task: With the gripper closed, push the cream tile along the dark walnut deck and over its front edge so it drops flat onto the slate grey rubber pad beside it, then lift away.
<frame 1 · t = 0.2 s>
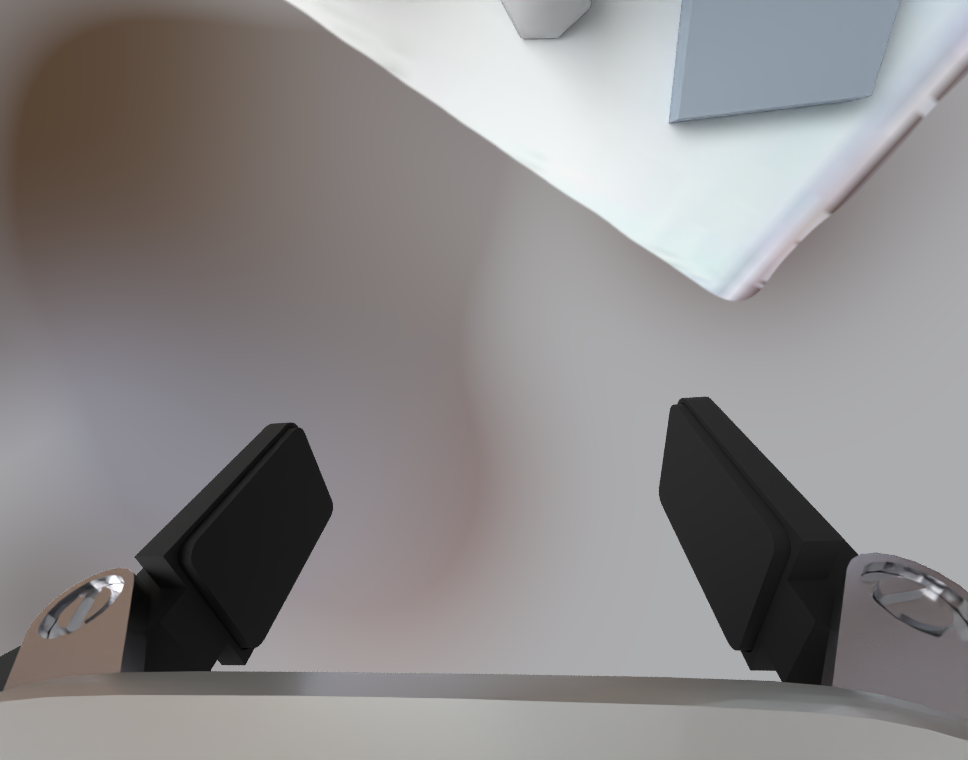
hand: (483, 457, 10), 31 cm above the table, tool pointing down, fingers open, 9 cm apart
mat: (774, 26, 28), on the table
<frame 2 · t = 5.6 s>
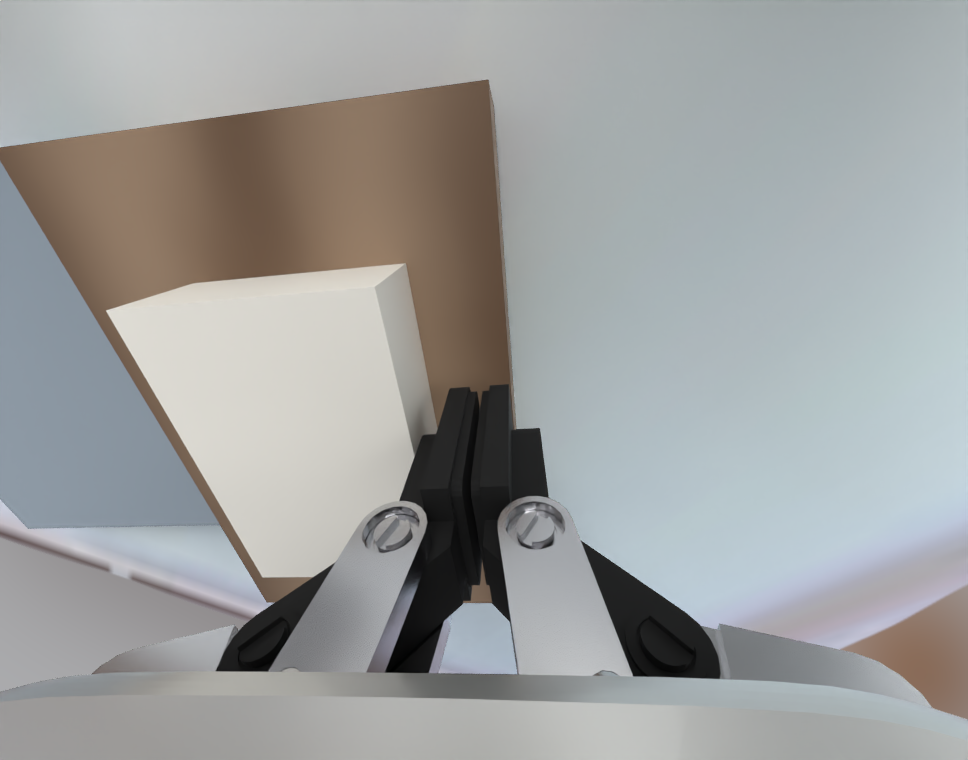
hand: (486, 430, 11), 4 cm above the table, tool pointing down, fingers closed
deck: (366, 395, 15), on the table
mat: (83, 368, 15), on the table
tile: (342, 415, 12), point 3 cm above the table, touching gripper
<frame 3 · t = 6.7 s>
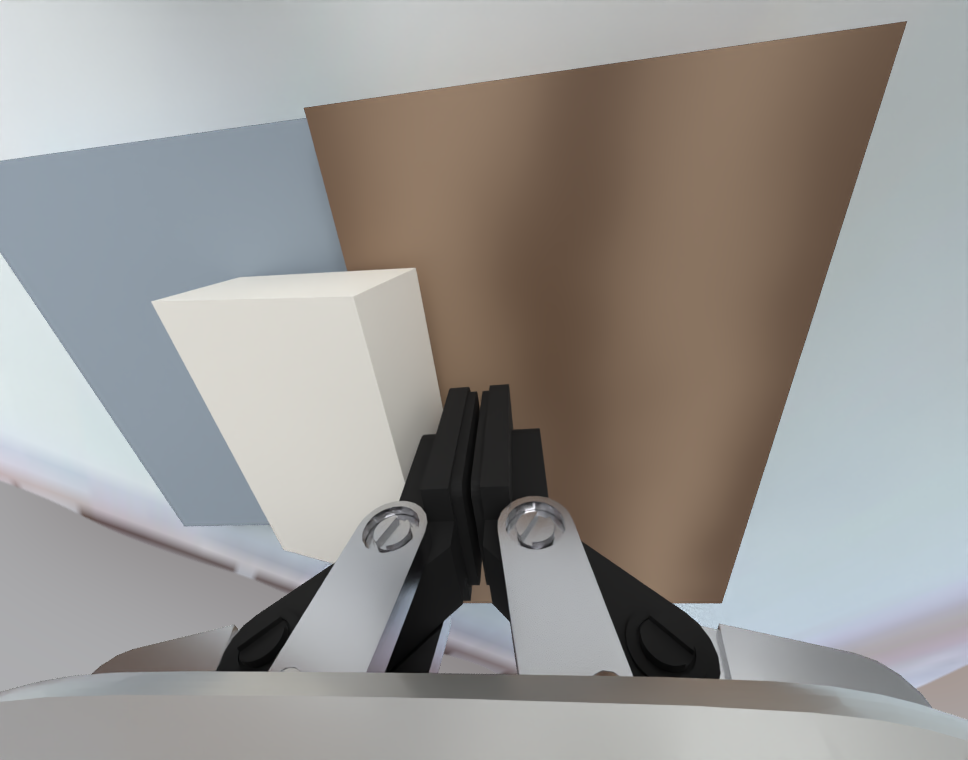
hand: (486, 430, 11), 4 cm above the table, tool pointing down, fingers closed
deck: (563, 384, 14), on the table
mat: (263, 357, 15), on the table
tile: (362, 412, 12), point 3 cm above the table, tilted 15°, touching mat
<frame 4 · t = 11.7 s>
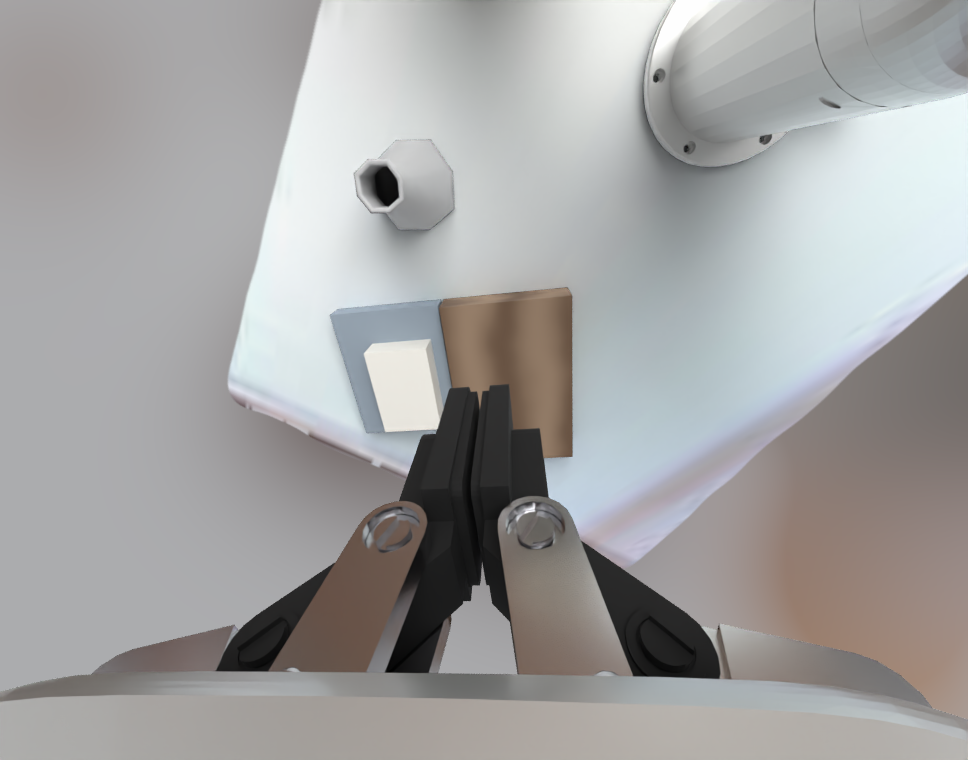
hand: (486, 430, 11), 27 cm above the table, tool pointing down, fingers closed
flask: (415, 186, 32), on the table
deck: (511, 375, 40), on the table
mat: (403, 367, 40), on the table
tile: (410, 381, 39), point 2 cm above the table, touching mat
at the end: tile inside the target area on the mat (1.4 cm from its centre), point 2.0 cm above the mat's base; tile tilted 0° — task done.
